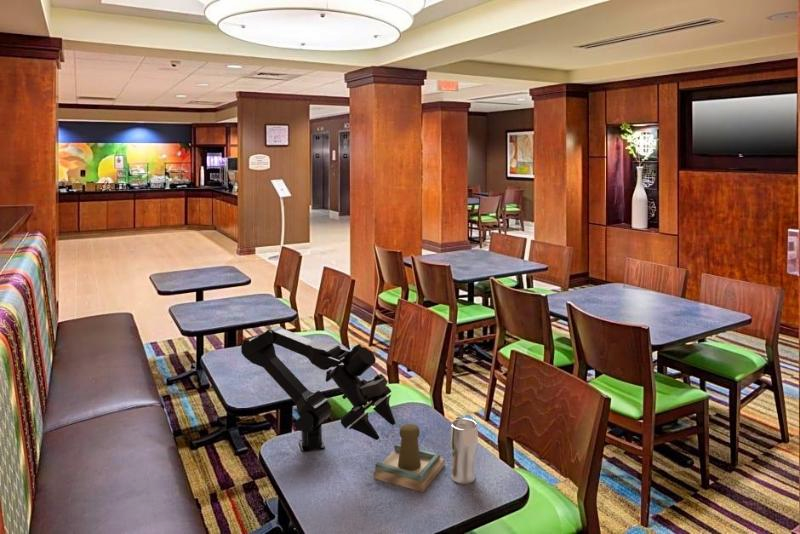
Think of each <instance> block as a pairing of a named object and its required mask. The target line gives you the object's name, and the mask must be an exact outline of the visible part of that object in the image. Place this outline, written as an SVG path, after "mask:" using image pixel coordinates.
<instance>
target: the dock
mask: <svg viewBox="0 0 800 534" xmlns="http://www.w3.org/2000/svg"><path fill="white" fill-rule="evenodd" d="M400 447H401V443H395V444H394V450H393V451H392V452H391V453H390V454H389V455H388V456H387V457H386V458H384V460H383V461H382V462H380V461H379V462H376V463H375V464H374V465H375V469H374V470H373V479H374V480H375V479H376V480H379V481H382V482H386V483H390V484H393V485H397V486H399V487H404V488H408V489H411V490H414V491H417V492H418V491H419V492H422V493H424V491H425V490H426V489H427V488H428V486H430V484H431V483H432V482H433V480H434V479H435V478H436V476H437V475H438V474H439V473H440V472H441V471H442V470H443V468H444V466H445V458H443V457H440V455H441V454H440V453H436V452H432V451H428V450H424V449H420V448H419V454H420V462H421V467H420V468H419V469H417V470H414V471H409V470H405V469H401V468H399V467H398V461H399V454H400Z"/></svg>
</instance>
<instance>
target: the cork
mask: <svg viewBox="0 0 800 534" xmlns="http://www.w3.org/2000/svg"><path fill="white" fill-rule="evenodd" d="M420 434H421V433H420V429H419V426H418V425H417V424H414V423H405V424H402V426H401V427H400V429H399V436H400V439H401V442H400V445H401V447H400V454H399V461H398V467H399V468H401V469H405V470H409V471H414V470H417V469H419V468H420V467H421V462H420V454H419V449H420V448H419V447H420V446H419V439H418V438H419V437H420Z"/></svg>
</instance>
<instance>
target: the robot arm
mask: <svg viewBox="0 0 800 534" xmlns="http://www.w3.org/2000/svg"><path fill="white" fill-rule="evenodd" d="M274 345H277V346H279V347H282V348H283V349H287V350H289V351H290V352H294V353H297V354H299V355H301V356H303V357H305V358H306V359H308V360H309V362H310V364H312V365H314V366H315V367H316V368H318V369H319V370H321V371H326V370H327V371H326V372H325V374H326V375H325V382H326V383H328V382H330V381H331V380H332V381H333V382H335V385H336V386H338V388H339V390H340V391H341V392H342V393H343V395H342V396H341V397H342V399H343V400H346V399H347V400H348V401H349V402H350V404H351V405H352V406H353V407H351V409H350V410H349V411H348V412H346V413H345V415H343V416H342V417H341V418H340V424H341V426H342V427H343V428H344V430H345V429H346V430H347V428H348V429H349V430H353V431H357V432H359V433H362V434H363V435H365V436H367V437H370V438H371V439H373V440H375V441H378V440H379V439H380V436H379V434H378V433H377V430H376V429H375V427H374V426H373V425H372V423H371V422H370V420H369V413H368V412H366V410H368V409H369V408H371V407H373V408H372V410H373V411H374V412H376V413H377V414H378V415H379V416H380V417H381V418H382V419H384V420H385V421H387V422H388V423H389V424H390V425H392V426H394V425H396V423H397V422H396V420H395V417H394V415H393V412H392V409H391V406H390V398H391V397H392V395H391V394H390V393H392V390H391V388H390V387H389V386H388V385H387V384H388V383H389V380H388V379H387V378H386V377H385V376H384V374H382V373H380V374H376V376H374V379H373V380H372V381H369V382H368V381H367V380H366V379H364V378H363V379H362V380H361V379H360V378H359V377H361V376H362V375H363V374H364V373H365V372H367V371H368V370H369V369H371V367H373V366H374V364H376V357H375V354H374V353H373V351H372V350H370V349H369V348H367V347H366V346H362V345H361V344H360V343H357V344H356V345H354V346H353V347H352V348H351V350H349V349H345V348H342V347H341V346H339V344H337V343H334V342H330V341H329V342H328V341H315V340H312V339H309V338H307V337H304V336H302V335H300V334H297V333H295V332H292V331H290V330H287V329H285V328H283V327H282V326H279V325H276V326H273V327H271V328H268V329H267V330H266V331H264V332H263V333H262V334H261V333H260V334H257V335H254V336H252V337H250V338H247V339H245V340H243V342H242V343H241V347H240V348H241V351H240V352H241V355H242V356H243V357H244V358H245V359H246V360H247V361H249V362H250V363H251V364H254V365H256V366H259V367H261V368H263V369H264V370H265V371H266V373H267V374H268V375H270V377H271V378H272V379H273V380H274V381H275V382H276V383H277V385H278V386H280V388H281V389H282V390H283V391H284V392H285V393H286V394H287V395H288V397H290V399H292V401H293V402H294V403H295V405H296V410H297V414H298V415H299V418H298V419H296V421H295V422H293V425H294V428H295V430H296V431H299V432H301V439H299V440H298V443H299V446H300V448H301V451H302V452H303V453H305V452H311V451H313V452H314V451H317V450H318V451H319V450H323V449H326V446H325V445H326V444H325V442H324V440H323V431H322V428H323V427H322V424H323V423H325V422H327V419H328V418H329V417H330V415H331V413H332V406H331V403H330V402H329V398H326V397H325V396H324V394H323V393H322V392H321V391H320V390H316V391H314V392H312V391H310V390H309V389H308V388H307V387H306V386H305V385H304V384H303V383H302V381H300V380H299V378H298V377H297V376H296V375H295V374H294V373H293V371H291V369H289V368H288V366H286V365H285V364H284V362H283V361H282V360H281V359H280V358H279V357H278V355H277V354H276V348H275V346H274ZM330 368H333V369H330ZM365 413H366V414H365Z"/></svg>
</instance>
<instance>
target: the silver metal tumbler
mask: <svg viewBox="0 0 800 534" xmlns="http://www.w3.org/2000/svg"><path fill="white" fill-rule="evenodd" d="M478 431H479V430H478V423H477V422H476V421H475V420H473V419H470V418H465V417H461V418H456V419H454V420H453V421H451V426H450V436H449V437H450V440H449V441H450V443H449V444H450V451H451V457H452V458H451V459H452V470H451V476H450V477H451V479H452V481H453V482H455V483H456V484H460V485H468V484H471V483H473V482H474V481H475V479H476V477H475V476H476V475H475V469H474V468H475V467H474V465H475V458H476V455H477V451H478V442H479V440H478V439H479V438H478V437H479V433H478Z"/></svg>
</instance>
